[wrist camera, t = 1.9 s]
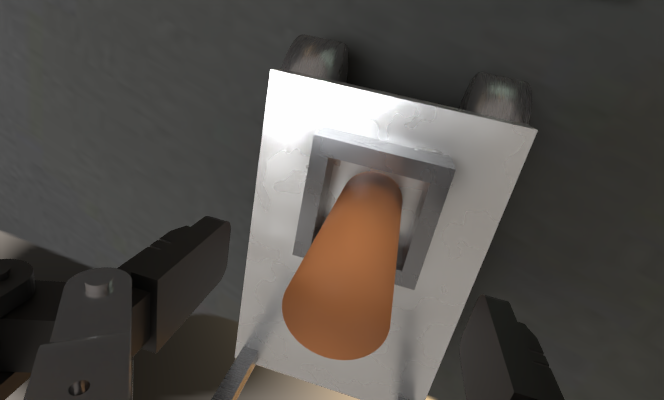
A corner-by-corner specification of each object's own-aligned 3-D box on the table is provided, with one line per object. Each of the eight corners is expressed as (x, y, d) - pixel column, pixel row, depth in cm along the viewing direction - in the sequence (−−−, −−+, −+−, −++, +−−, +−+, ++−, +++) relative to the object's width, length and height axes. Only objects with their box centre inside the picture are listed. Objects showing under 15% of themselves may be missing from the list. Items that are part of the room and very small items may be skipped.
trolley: (319, 38, 25) (-113, -59, 5) (509, 78, 23) (1128, 203, 3) (276, 296, 33) (55, 669, 13) (413, 339, 31) (408, 836, 11)
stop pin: (348, 164, 18) (290, 253, 10) (409, 180, 18) (403, 287, 9) (336, 219, 19) (274, 341, 11) (393, 234, 19) (375, 373, 10)
